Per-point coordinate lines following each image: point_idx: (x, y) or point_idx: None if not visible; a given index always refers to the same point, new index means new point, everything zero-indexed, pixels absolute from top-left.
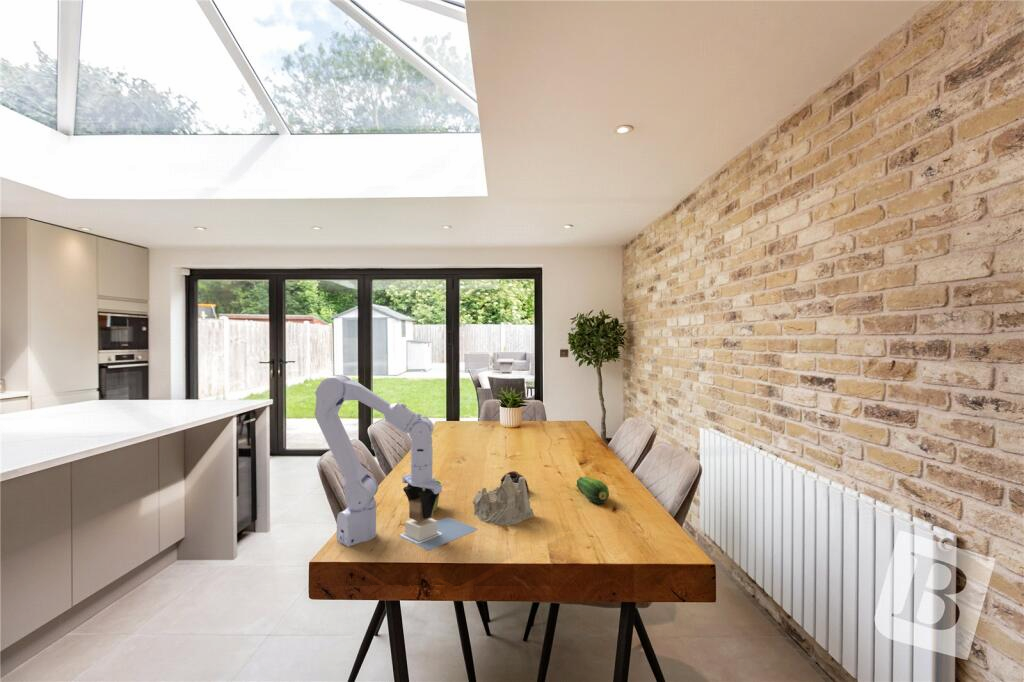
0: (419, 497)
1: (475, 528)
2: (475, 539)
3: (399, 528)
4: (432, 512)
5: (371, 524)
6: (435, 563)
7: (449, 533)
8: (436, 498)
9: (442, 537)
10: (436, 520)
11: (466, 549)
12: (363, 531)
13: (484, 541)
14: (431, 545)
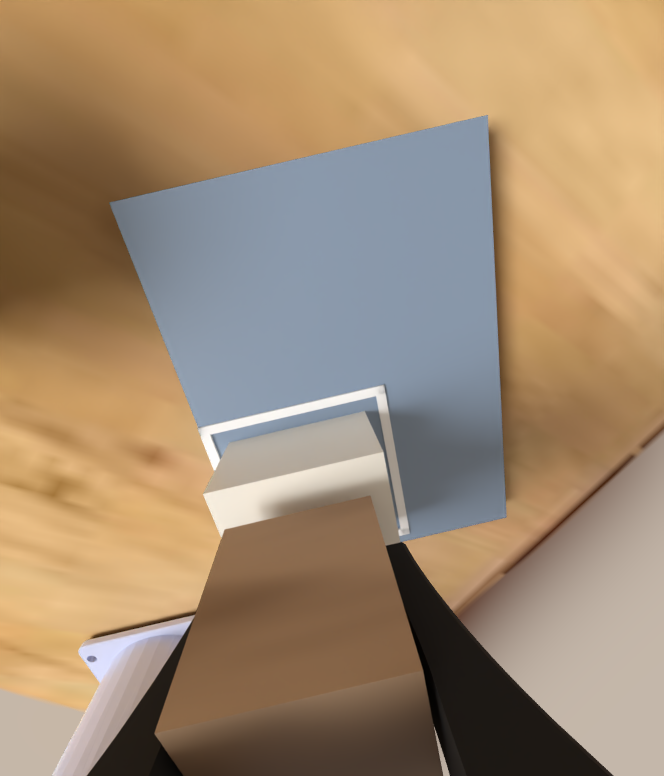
0: (171, 769)
1: (464, 129)
2: (537, 218)
3: (118, 517)
4: (381, 536)
5: None
6: (577, 510)
7: (407, 346)
8: (578, 743)
9: (427, 406)
10: (374, 455)
11: (590, 339)
12: None
13: (602, 183)
14: (470, 490)
